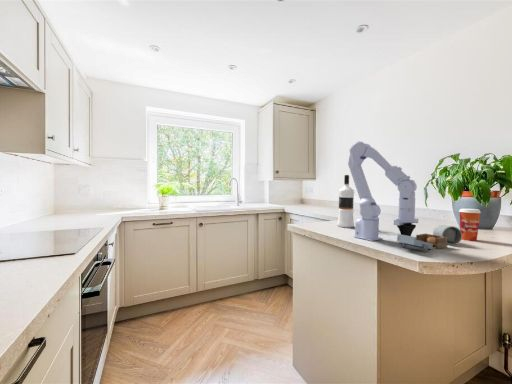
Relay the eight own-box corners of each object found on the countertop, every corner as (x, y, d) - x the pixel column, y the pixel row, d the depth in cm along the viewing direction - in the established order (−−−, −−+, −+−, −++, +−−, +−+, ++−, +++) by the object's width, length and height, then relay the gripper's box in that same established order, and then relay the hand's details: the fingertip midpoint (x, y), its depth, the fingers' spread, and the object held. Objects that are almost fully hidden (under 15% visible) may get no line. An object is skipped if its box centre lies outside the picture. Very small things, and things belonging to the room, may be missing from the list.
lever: (382, 238, 97) (384, 231, 97) (402, 243, 104) (403, 236, 104) (414, 245, 87) (415, 237, 87) (433, 249, 94) (434, 242, 94)
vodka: (351, 228, 136) (353, 174, 135) (335, 226, 141) (336, 174, 140) (355, 226, 143) (357, 175, 142) (339, 224, 149) (340, 175, 148)
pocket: (415, 244, 101) (416, 235, 101) (424, 242, 104) (425, 233, 104) (438, 249, 94) (438, 238, 94) (446, 247, 97) (447, 237, 97)
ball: (430, 239, 102) (427, 246, 101) (426, 234, 101) (423, 241, 100) (440, 241, 99) (436, 248, 98) (436, 236, 97) (433, 243, 96)
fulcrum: (402, 247, 96) (402, 240, 96) (404, 246, 97) (405, 240, 97) (425, 252, 89) (426, 245, 89) (428, 251, 90) (428, 244, 90)
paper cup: (460, 240, 110) (461, 209, 110) (455, 237, 117) (456, 207, 116) (482, 242, 106) (484, 210, 106) (477, 238, 113) (478, 208, 113)
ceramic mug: (448, 240, 109) (449, 223, 109) (462, 245, 101) (462, 226, 101) (423, 240, 110) (423, 223, 110) (434, 244, 102) (435, 226, 102)
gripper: (406, 210, 94) (405, 245, 94) (426, 208, 101) (425, 241, 101) (389, 208, 100) (388, 241, 100) (408, 207, 107) (407, 238, 108)
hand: (405, 241), depth 101 cm, fingers closed
